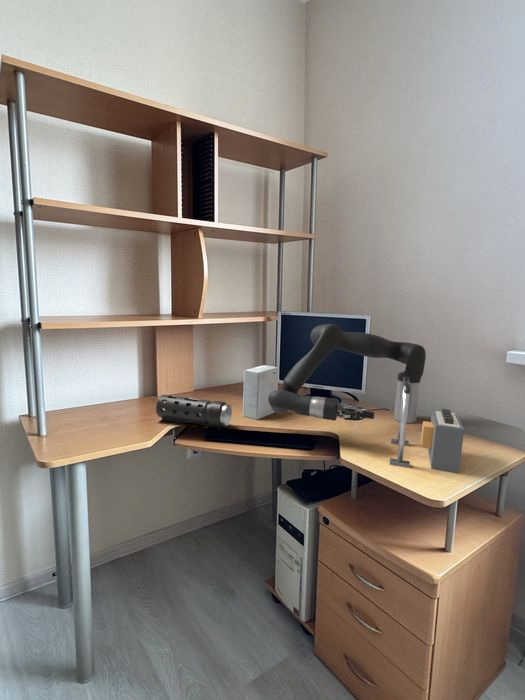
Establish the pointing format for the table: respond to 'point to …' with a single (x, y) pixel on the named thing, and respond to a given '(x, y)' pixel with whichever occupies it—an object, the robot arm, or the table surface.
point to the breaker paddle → (427, 434)
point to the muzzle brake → (194, 411)
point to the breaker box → (446, 441)
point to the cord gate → (402, 427)
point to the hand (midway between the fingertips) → (374, 415)
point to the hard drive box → (259, 391)
